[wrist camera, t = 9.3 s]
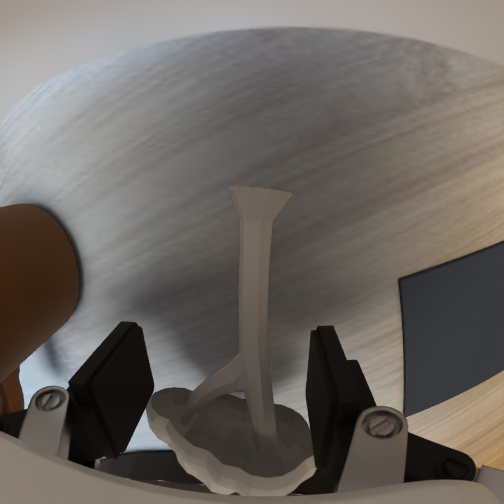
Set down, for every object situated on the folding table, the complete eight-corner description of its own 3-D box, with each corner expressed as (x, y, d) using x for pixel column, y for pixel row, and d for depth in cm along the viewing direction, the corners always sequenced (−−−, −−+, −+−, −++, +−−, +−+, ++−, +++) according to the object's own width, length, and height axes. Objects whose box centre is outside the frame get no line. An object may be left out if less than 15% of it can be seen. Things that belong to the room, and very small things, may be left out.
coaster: (398, 278, 13) (400, 281, 13) (527, 230, 12) (530, 231, 12) (403, 415, 16) (404, 417, 16) (514, 360, 15) (516, 362, 14)
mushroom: (390, 195, 6) (292, 542, 7) (368, 207, 10) (311, 468, 11) (107, 176, 7) (128, 487, 9) (187, 190, 12) (177, 433, 13)
